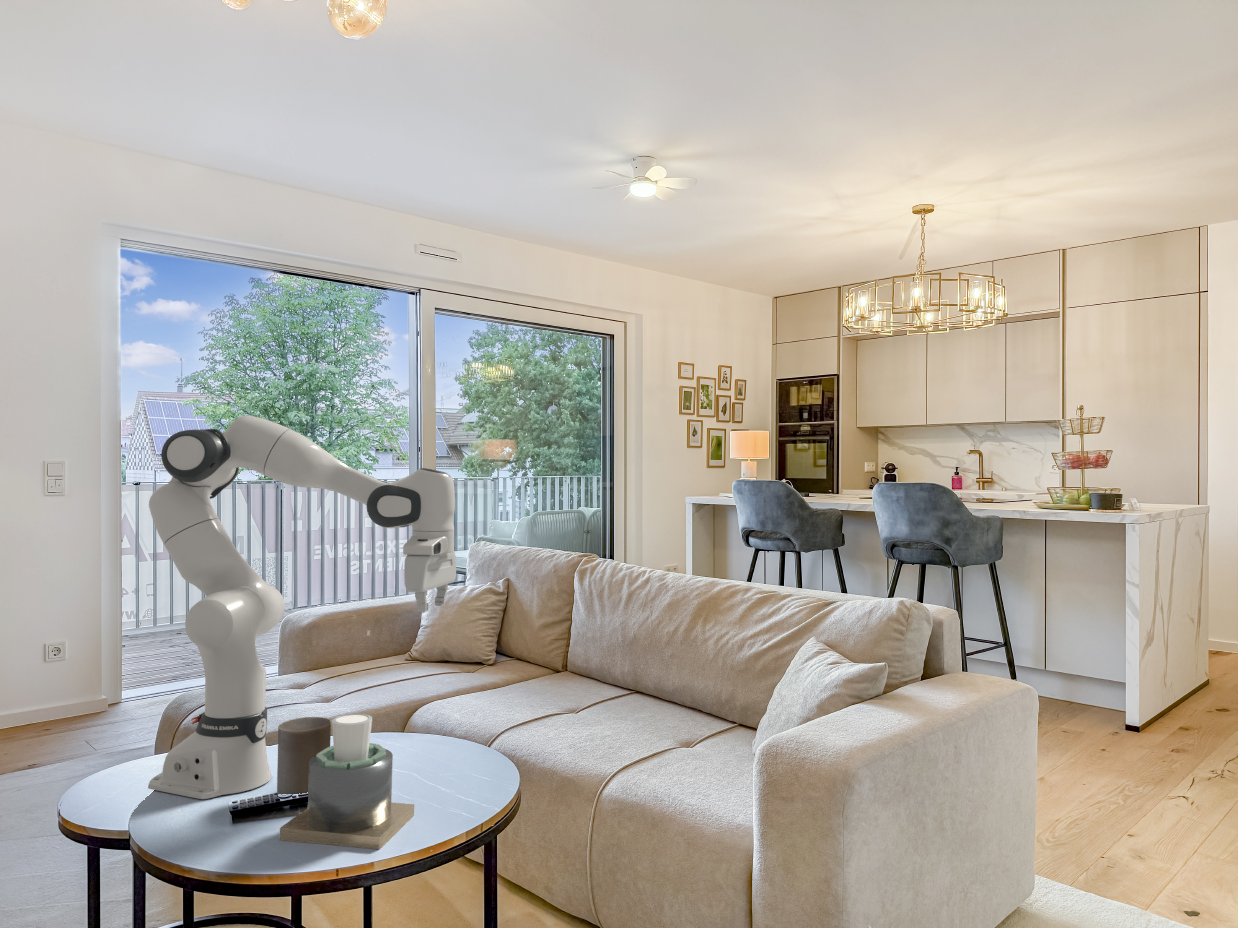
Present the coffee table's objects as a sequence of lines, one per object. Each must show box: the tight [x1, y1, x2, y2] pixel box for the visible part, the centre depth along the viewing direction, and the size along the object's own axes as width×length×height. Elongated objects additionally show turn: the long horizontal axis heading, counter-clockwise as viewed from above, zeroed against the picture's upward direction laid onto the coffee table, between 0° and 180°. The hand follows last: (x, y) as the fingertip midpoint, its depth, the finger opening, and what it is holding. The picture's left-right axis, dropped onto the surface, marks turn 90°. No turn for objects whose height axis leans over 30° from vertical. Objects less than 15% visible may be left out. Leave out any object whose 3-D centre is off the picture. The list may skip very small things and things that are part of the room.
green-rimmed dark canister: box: [279, 742, 415, 850], centre depth 140 cm, size 18×14×13 cm
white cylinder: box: [331, 713, 373, 762], centre depth 140 cm, size 7×7×7 cm
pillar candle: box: [276, 716, 332, 795], centre depth 154 cm, size 10×10×15 cm
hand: (431, 608), depth 170 cm, fingers open, 8 cm apart
